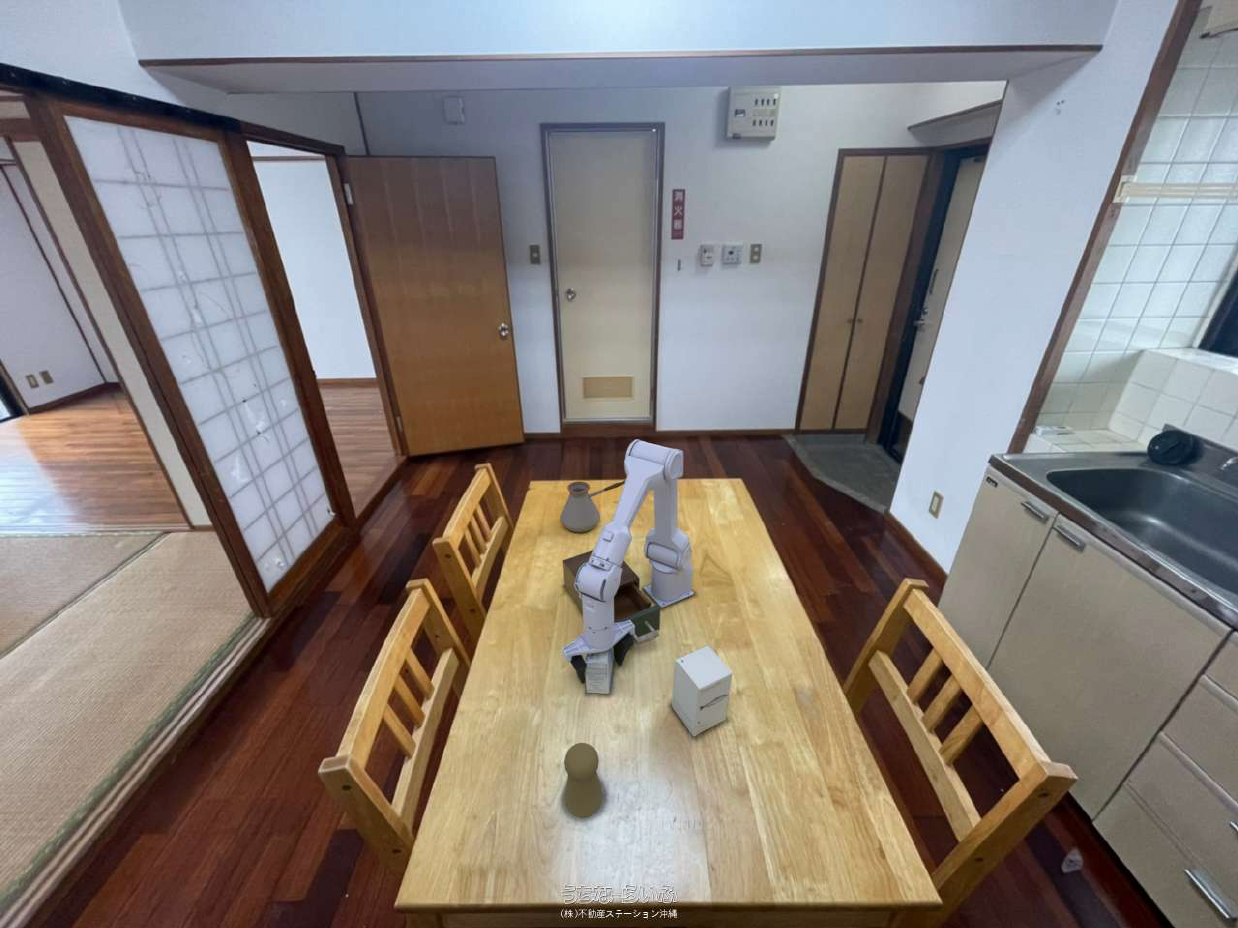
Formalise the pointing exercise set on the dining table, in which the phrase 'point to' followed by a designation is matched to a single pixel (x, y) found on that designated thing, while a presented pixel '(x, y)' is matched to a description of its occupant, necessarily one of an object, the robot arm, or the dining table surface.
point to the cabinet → (574, 565)
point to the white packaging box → (701, 689)
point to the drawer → (637, 613)
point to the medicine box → (599, 671)
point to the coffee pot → (582, 507)
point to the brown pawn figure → (582, 781)
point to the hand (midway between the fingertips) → (600, 670)
